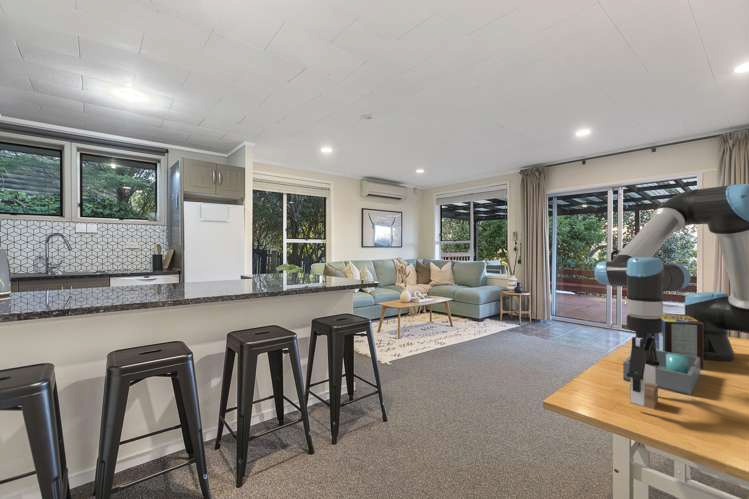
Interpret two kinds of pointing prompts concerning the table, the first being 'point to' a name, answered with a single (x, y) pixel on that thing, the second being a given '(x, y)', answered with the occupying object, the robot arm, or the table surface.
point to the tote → (672, 374)
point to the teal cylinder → (677, 363)
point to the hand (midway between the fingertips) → (643, 395)
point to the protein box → (681, 336)
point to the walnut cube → (649, 395)
